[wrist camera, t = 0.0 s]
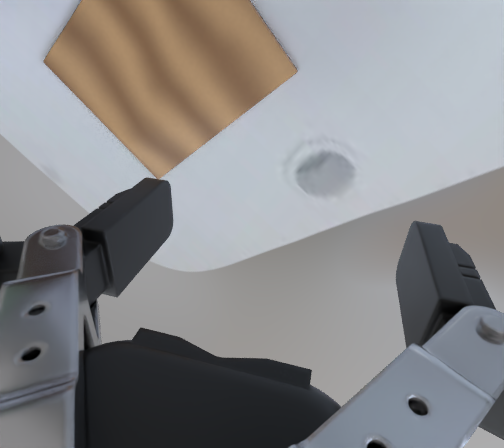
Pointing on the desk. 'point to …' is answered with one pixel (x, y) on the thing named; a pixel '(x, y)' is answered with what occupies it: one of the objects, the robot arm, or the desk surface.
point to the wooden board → (168, 70)
